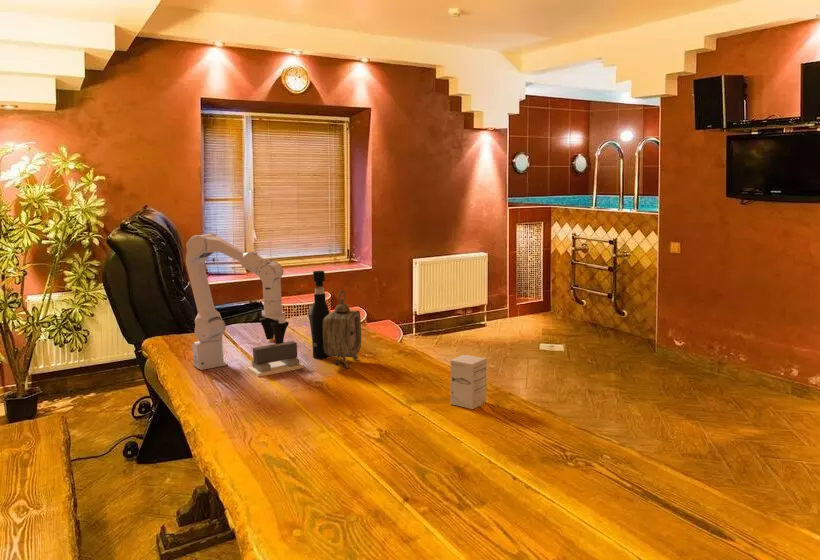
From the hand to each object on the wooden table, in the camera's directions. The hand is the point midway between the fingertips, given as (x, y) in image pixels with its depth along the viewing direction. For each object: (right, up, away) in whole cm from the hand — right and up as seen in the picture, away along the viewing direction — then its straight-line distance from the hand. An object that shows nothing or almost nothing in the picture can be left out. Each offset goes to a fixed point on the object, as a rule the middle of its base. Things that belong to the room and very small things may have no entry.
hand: (274, 341), depth 210 cm
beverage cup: (+10, -4, +32) cm, 34 cm away
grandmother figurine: (-8, -4, +39) cm, 40 cm away
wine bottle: (+13, -7, +15) cm, 22 cm away
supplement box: (+60, -14, -34) cm, 70 cm away
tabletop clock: (+22, -8, +6) cm, 24 cm away
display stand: (0, -9, +1) cm, 9 cm away
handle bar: (0, -6, +1) cm, 6 cm away
